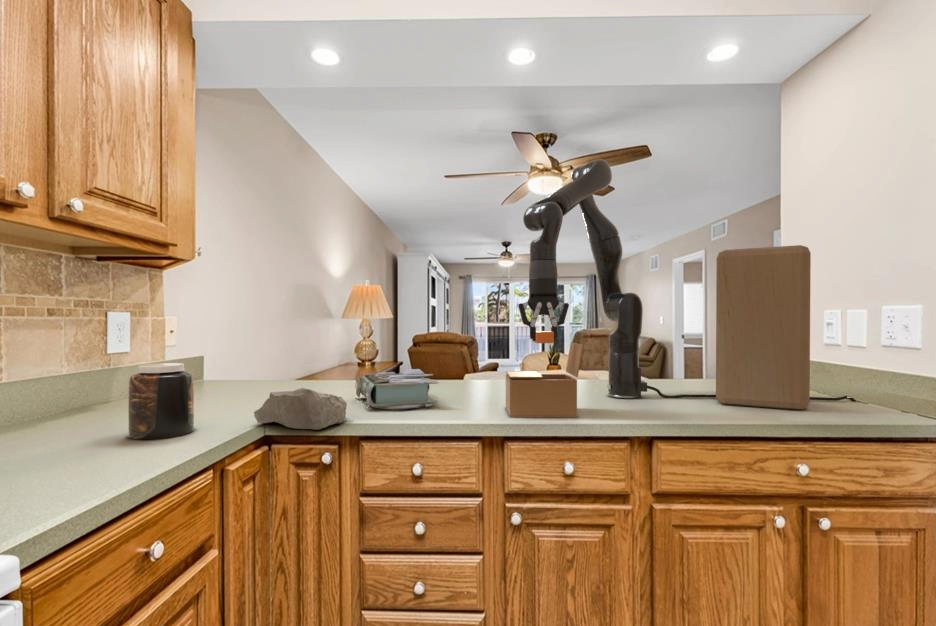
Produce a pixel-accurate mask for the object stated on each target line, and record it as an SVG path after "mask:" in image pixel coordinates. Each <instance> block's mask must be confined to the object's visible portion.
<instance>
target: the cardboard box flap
mask: <svg viewBox="0 0 936 626" xmlns="http://www.w3.org/2000/svg"><path fill="white" fill-rule="evenodd" d="M583 350H584V344H581V343H576V342H571V341H570V346H569V351H568V356H567V361H566V368H565V372H566V373H568V374H569V375H572V376H573V377H575V378H578V377H579V372H580V366H581V361H582V357H583Z"/></svg>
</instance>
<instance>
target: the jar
mask: <svg viewBox="0 0 936 626" xmlns="http://www.w3.org/2000/svg"><path fill="white" fill-rule="evenodd" d="M137 372H138V373H135V374H133V375H131V376H130V377H129V380H128V438H129V439H132V440H142V441H143V440H144V441H145V440H159V439H168V438H174V437H179V436H183V435H184V436H185V435H187V434H190V433H192V432H194V429H195V428H194V427H195V422H194V421H195V412H194V411H195V405H194V403H195V402H194V401H195V399H194V398H195V396H194V395H195V394H194V393H195V392H194V375H193V373H191V372H189V371H186V369H185V363H181V362H164V363H163V362H161V363H147V364H140V365H138V371H137Z"/></svg>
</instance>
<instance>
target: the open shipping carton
mask: <svg viewBox="0 0 936 626" xmlns="http://www.w3.org/2000/svg"><path fill="white" fill-rule="evenodd" d="M505 373H506V374H505V410H506V411H507V414H508V416H509V417H510V418H578V379H576V378H574V377H572V376H570V374H569V375H568V374H567V373H539V372H537V371H536V370H522V371H521V370H506V371H505Z"/></svg>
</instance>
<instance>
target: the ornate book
mask: <svg viewBox="0 0 936 626" xmlns="http://www.w3.org/2000/svg"><path fill="white" fill-rule="evenodd" d="M430 376H431V377H432V376H434V373H425V372H424V371H422V370H421V369H420V368H406V369H404V370H402V371H400V372H399V373H396V371H390V372H387V371H381V372H374V373H366V374H365V375H364V374H363V376H361V377H360V374H357V376H356V377H355V383H354V384H355V385H354V386H355V394H356V396H357V397H358V398H360V397H361V396H363V397H364V398H365V400H366V401H365V402H366V405H367V406H369V407H371V408H375V409H381V410H411V409H419V408H424V407H426V408H428V407H431V406H433V405H435V404H438V403H439V401H438V400H436V399H434V398H432V397H431V396H429V391H430V385H435V384H436V385H438V384H446V382H444V381H439V380H436V379H431V378H427V377H430Z"/></svg>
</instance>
